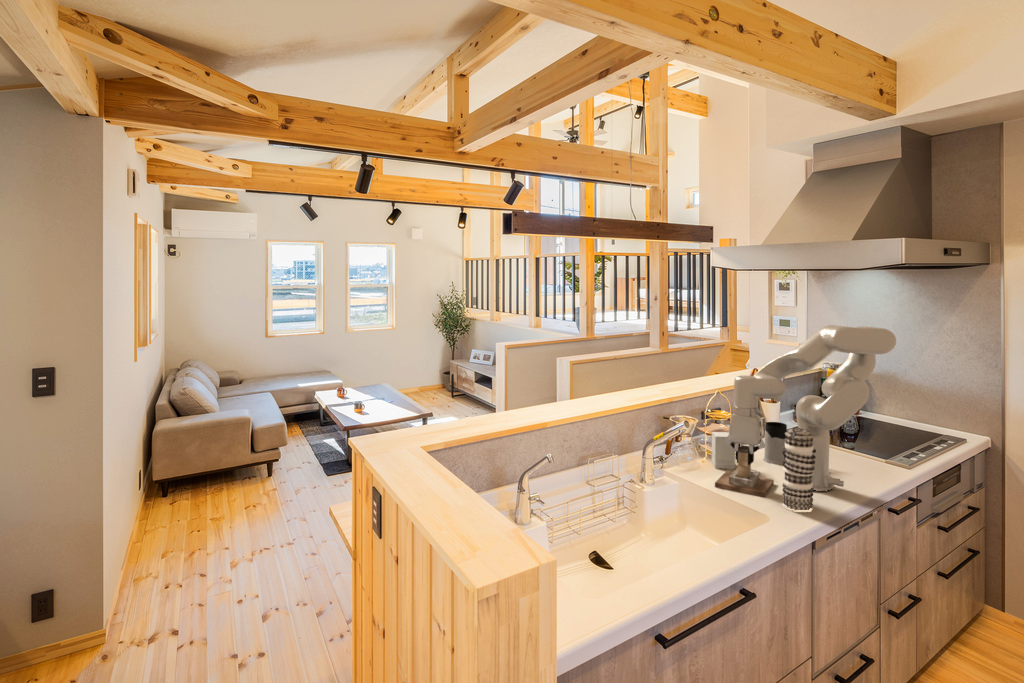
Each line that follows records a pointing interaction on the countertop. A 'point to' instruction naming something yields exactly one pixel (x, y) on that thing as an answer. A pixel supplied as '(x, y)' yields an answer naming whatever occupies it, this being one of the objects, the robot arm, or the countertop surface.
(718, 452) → the supplement box
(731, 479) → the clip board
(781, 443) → the glass holder
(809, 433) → the decorative candle
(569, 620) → the countertop surface
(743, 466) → the brown upright block
